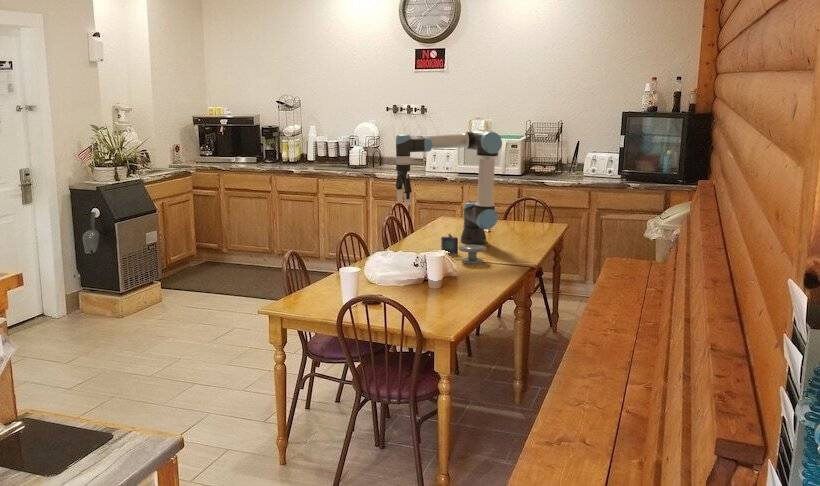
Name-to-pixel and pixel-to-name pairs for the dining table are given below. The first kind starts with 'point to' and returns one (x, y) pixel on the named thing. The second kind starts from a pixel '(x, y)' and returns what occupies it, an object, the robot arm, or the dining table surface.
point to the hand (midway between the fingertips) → (403, 203)
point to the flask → (449, 244)
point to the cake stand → (472, 253)
